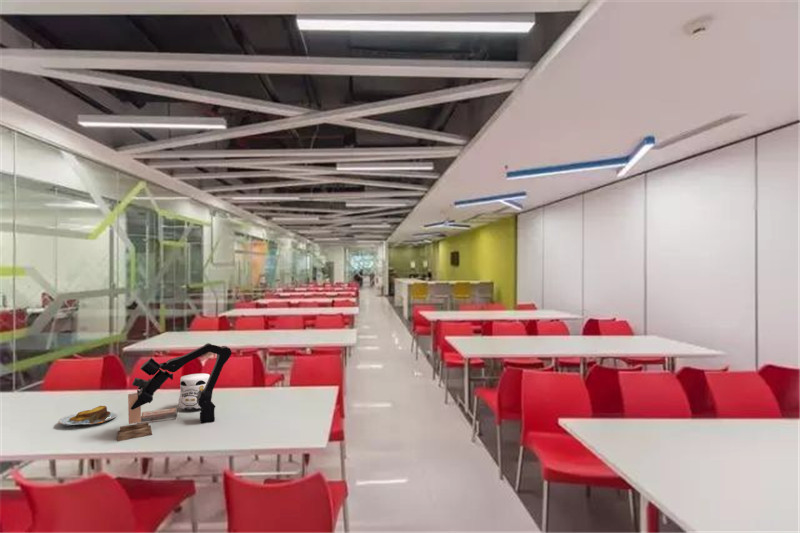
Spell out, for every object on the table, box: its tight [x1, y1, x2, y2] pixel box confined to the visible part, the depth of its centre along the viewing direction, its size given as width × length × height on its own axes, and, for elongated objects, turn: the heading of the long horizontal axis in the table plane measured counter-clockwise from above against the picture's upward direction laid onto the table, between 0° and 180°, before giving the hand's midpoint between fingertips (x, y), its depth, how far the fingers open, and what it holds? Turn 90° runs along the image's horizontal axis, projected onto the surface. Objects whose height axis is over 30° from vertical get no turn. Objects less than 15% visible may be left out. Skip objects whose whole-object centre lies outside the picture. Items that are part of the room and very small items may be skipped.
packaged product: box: [136, 407, 178, 424], centre depth 235 cm, size 18×5×10 cm
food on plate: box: [57, 405, 118, 426], centre depth 233 cm, size 25×25×7 cm
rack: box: [116, 422, 153, 442], centre depth 214 cm, size 14×13×3 cm
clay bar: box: [127, 392, 142, 425], centre depth 214 cm, size 5×5×13 cm
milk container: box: [178, 372, 213, 411], centre depth 254 cm, size 17×17×18 cm
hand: (131, 407), depth 213 cm, fingers closed on clay bar, 5 cm apart
